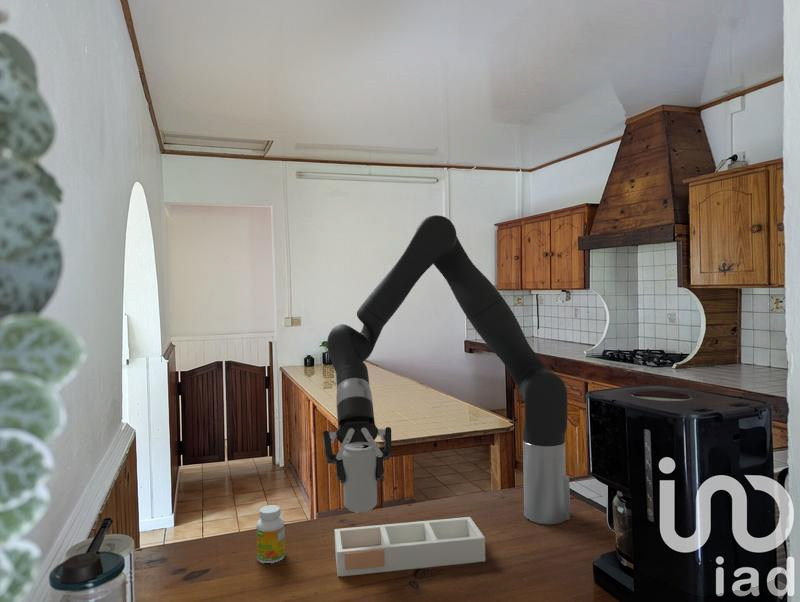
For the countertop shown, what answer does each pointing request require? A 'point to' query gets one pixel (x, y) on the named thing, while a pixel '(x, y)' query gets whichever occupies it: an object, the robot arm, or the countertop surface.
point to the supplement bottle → (270, 535)
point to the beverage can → (360, 477)
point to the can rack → (408, 546)
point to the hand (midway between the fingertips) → (361, 479)
